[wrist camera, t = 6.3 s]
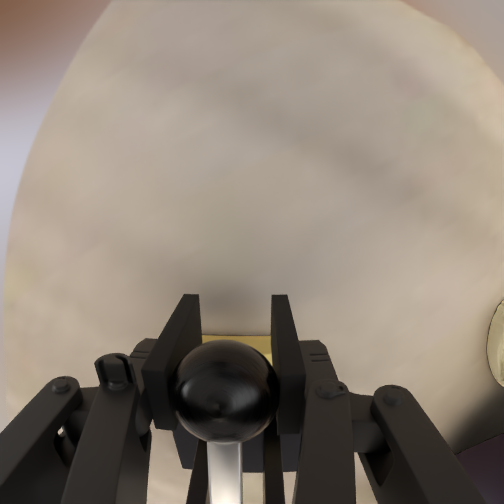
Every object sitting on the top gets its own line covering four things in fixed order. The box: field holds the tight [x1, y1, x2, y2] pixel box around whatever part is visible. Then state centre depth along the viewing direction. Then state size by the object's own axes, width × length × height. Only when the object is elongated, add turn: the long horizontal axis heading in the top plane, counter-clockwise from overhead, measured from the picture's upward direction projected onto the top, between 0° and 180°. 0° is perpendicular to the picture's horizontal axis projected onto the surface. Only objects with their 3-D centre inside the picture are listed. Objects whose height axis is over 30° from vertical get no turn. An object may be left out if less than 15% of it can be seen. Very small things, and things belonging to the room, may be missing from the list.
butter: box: [202, 335, 272, 365], centre depth 17 cm, size 3×6×2 cm, turn 90°
